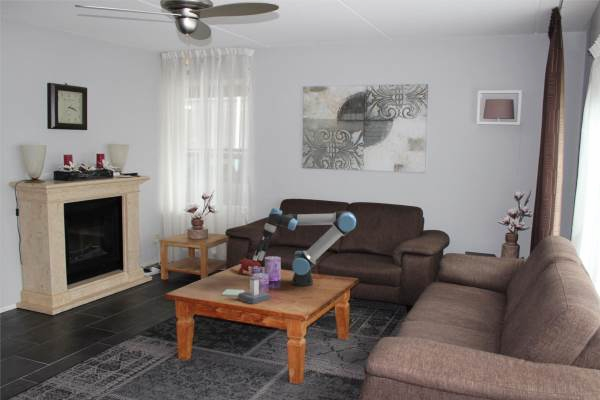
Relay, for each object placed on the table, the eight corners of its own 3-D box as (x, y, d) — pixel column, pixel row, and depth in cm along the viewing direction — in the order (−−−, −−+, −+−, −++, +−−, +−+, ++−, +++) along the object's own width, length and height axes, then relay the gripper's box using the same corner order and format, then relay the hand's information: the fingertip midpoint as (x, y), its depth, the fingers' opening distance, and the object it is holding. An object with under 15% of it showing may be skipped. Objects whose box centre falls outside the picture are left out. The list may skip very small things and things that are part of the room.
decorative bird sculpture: (255, 283, 384) (266, 266, 389) (247, 276, 379) (259, 259, 384) (234, 275, 405) (245, 260, 411) (226, 268, 400) (238, 253, 406)
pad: (244, 291, 346) (244, 290, 346) (239, 296, 334) (239, 295, 334) (226, 290, 348) (226, 289, 348) (221, 295, 336) (221, 294, 336)
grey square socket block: (254, 295, 339) (254, 289, 339) (269, 299, 330) (270, 294, 329) (238, 299, 329) (238, 293, 328) (253, 304, 319) (253, 298, 319)
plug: (254, 298, 332) (254, 276, 331) (259, 299, 329) (259, 277, 328) (248, 299, 329) (249, 277, 328) (253, 301, 326) (254, 278, 325)
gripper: (268, 229, 366) (257, 257, 365) (259, 227, 341) (246, 258, 341) (278, 233, 364) (266, 262, 364) (269, 232, 340) (257, 262, 339)
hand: (257, 260), depth 352 cm, fingers open, 13 cm apart
